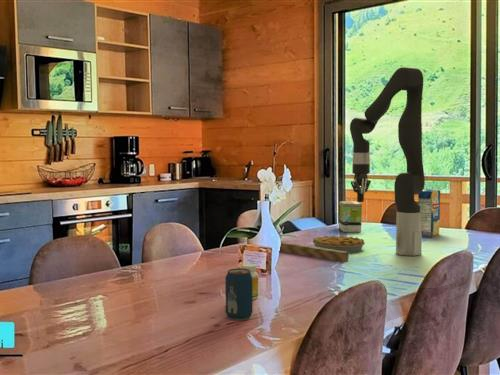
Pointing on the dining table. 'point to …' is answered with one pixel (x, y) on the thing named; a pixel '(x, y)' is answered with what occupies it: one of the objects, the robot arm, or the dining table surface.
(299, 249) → the walnut board
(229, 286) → the soda can
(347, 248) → the pie
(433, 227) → the beverage box
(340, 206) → the tea box
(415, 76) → the robot arm
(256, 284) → the supplement bottle
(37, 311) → the dining table surface
